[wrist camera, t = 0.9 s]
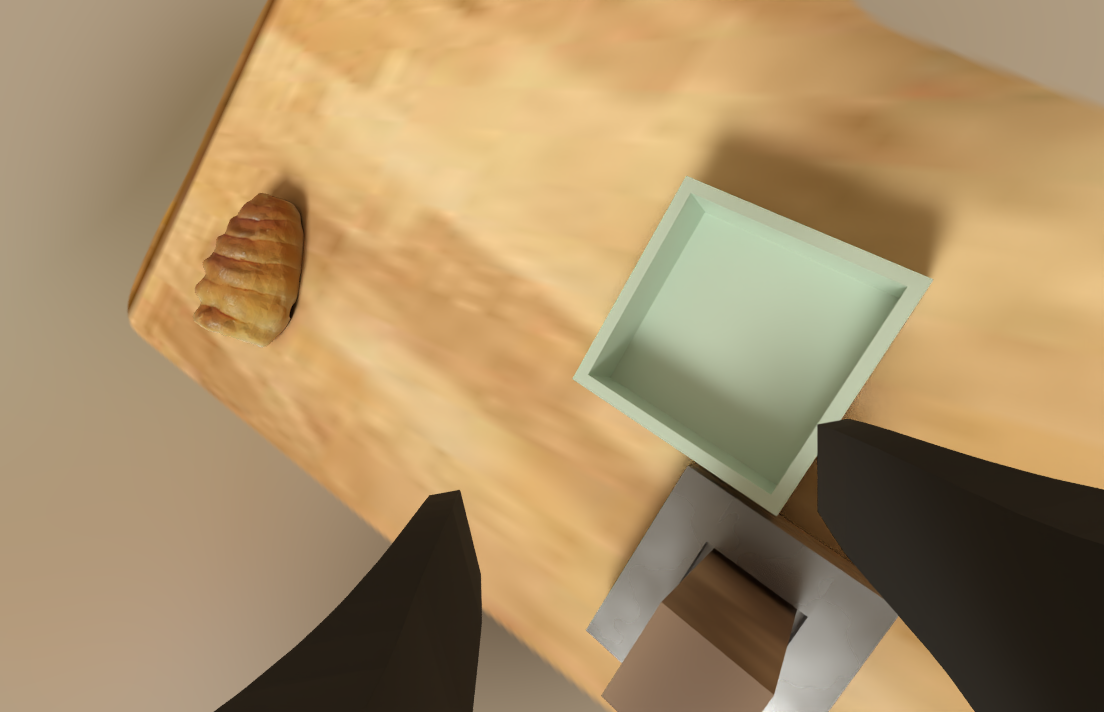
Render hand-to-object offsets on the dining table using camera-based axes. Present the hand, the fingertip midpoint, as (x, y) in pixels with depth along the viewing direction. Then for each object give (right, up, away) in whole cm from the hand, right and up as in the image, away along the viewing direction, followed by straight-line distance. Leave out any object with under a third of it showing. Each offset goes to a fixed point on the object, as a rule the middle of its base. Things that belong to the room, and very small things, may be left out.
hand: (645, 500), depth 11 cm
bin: (+6, +3, +12) cm, 14 cm away
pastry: (-20, +8, +26) cm, 34 cm away
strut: (+5, -7, +10) cm, 13 cm away
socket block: (+5, -7, +11) cm, 14 cm away
